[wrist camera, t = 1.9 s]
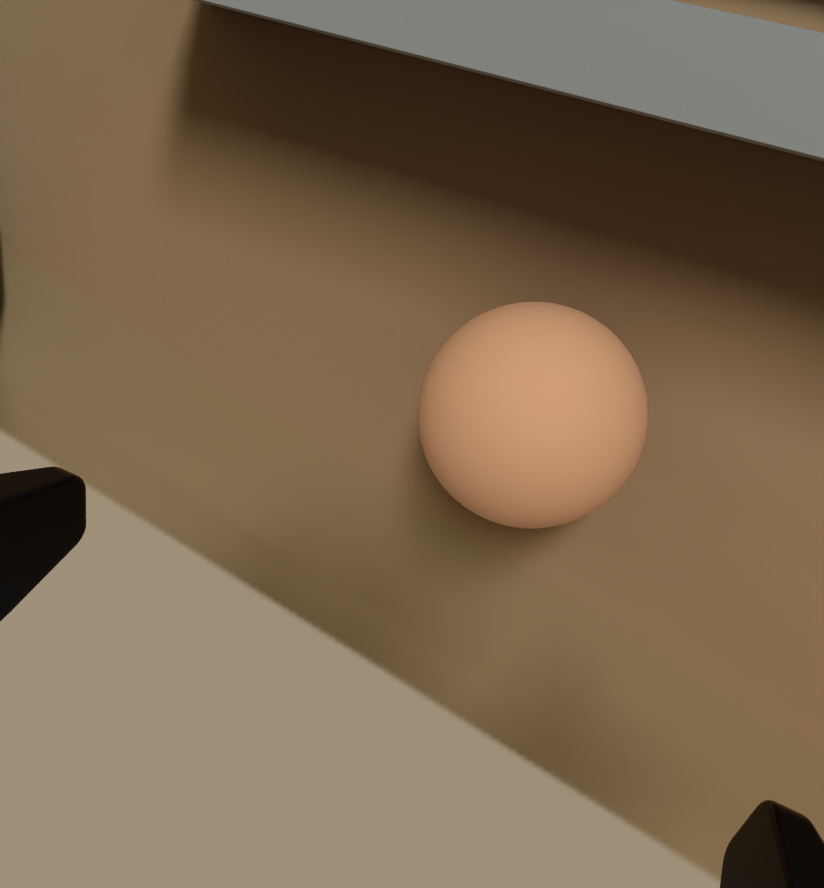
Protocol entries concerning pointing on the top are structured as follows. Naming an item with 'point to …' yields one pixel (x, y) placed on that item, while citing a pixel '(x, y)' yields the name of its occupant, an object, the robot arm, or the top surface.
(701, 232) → the top surface
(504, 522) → the ball
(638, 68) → the gray wall
